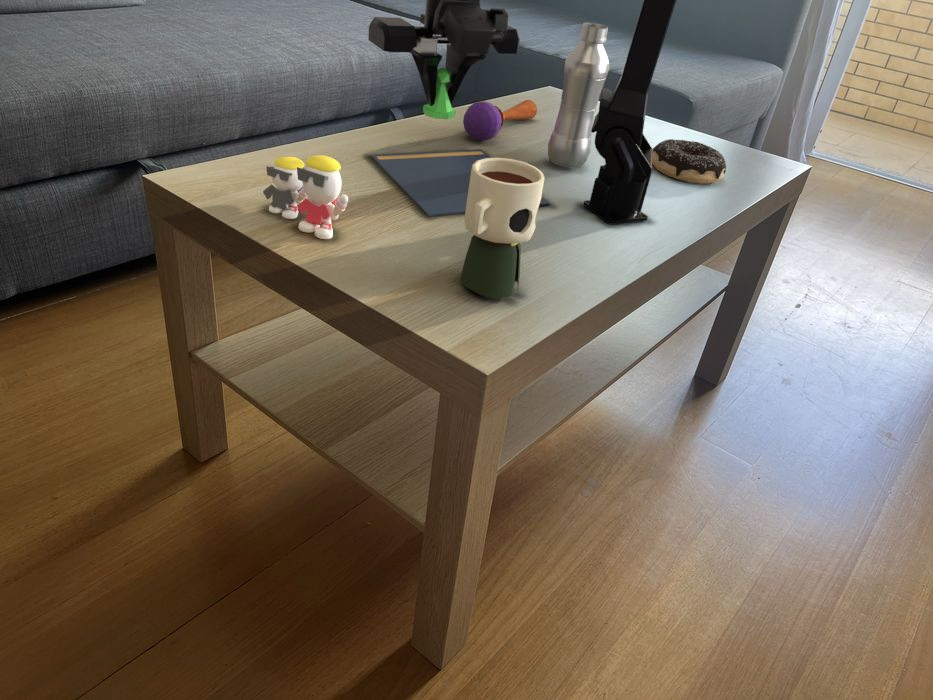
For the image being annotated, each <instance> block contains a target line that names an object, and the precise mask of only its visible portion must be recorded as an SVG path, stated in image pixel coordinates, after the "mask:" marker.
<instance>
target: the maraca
mask: <svg viewBox="0 0 933 700" xmlns="http://www.w3.org/2000/svg"><path fill="white" fill-rule="evenodd" d="M537 114H538V107H537V104H536V103H535V101H534V100H531V99H526V100H523V101H522V102H519V103H518V104H515V105H513V106H512V107H510V108H508V109H506V110H504V111H502V109H500V108H499V107H498V106H496V105H494V104H493V103H492V102H489V101H485V100H483V101H477V102H474V103H472V104H471V105H469V106H468V108H467V109H466V111H465V112H464V115H463V120H462V123H463V129H464V131H465V133H466V134H467V135H468V136H469V137H471V138H472V139H473V140H474V141H478V142H485V141H486V142H487V141H490V140H492V139H493V138H495V137H496V136H497V135H498V133H499V132H500V130H501V129H502V127H503V125H504V122H505V121H520V120H521V121H525V120H526V121H527V120H532V119H534V118H535V117H536V116H537Z"/></svg>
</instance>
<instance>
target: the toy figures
mask: <svg viewBox="0 0 933 700" xmlns="http://www.w3.org/2000/svg"><path fill="white" fill-rule="evenodd" d="M265 169H266V175H267V176H268V177H271V181H272V182H273V184H274V185H273V184H270V185H269V186H267V187H266V188H265V189H264V190H263V191H262V193H263V195H264V196H265V198H266V200H270V199H272V200H271V203H270V205H269V206H268V211H269V212H270V213H272V214H281V217H282V218H283V219H287V220H292V219H293V220H294V219H296V218H298V215H299V213H300V214H301V215H302V214H304V213H306V216H305V219H304V220H301V221H300V222H299V223H298V230H299V231H300V232H303V233H314V236H315V237H316V238H318V239H321V240H330V239H332V238H333V236H334V234H333V233H334V231H333V226H332V225H333V224H332V221H336V220H338V219H339V217H340V214H342V213H344V212H345V211H346V208H347V206H348V205H347V204H348V203H349V197H348V195H346V194H343V193H342V194H341V195H340V193H341V190H342V177H341V173H340V171H341V169H342V165H341V164H340V162H339V161H338V160H336V159H335V158H333V157H330V156H328V155H321V154H316V155H311V156H309V157H308V158H307V159H306V160H305V163H304V161H303V160H301V159H300V158H298V157H294V156H280V157H278V158H276V159H275V160H274V165H273V166H267V165H266V167H265ZM339 195H340V196H339Z"/></svg>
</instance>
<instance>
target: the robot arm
mask: <svg viewBox="0 0 933 700" xmlns="http://www.w3.org/2000/svg"><path fill="white" fill-rule="evenodd" d="M677 1H678V0H643V1H642V4H641V8H640V11H639V14H638V18H637V21H636V25H635V28H634V31H633V34H632V35H633V36H632V38H631V42H630V46H629V48H628V52H627V55H626V59H625V63H624V66H623V70H622V73H621V76H620V78H619V80H618V82H617V84H616V86H615V87H614V90H611V89H608V88H606V87H603V88H602V91H601V94H600V98H599V106H598V112H597V114H596V115H594V120H593V126H592V130H591V132H592V133H591V134H593V133H595V136H594V148H595V149H596V152H597V153H598V154H599V156H600V157H601V158H603V159H604V164H603V165H600V167H599V171H598V174H597V177H595V179H594V183H593V187H592V191H591V195H590V199H588V200H583V206H584V207H586V208H587V209H588V210H590V211H591V212H592V213H594V214H595V215H597V216H598V217H599V218H601V219H602V220H603V221H605V222H606V223H607V224H610V225H617V224H624V223H625V224H626V223H634V222H645V221H648V218H649V216H648V215H647V214H645V213H644V212H643V211H642V208H643V205H644V202H645V199H646V194H647V191H648V187H649V184H650V181H651V177H652V174H653V172H652V170H653V164H652V155H653V147H652V145H651V144H650V142H649V140H648V139H647V137H646V136H645V134H644V127H645V119H646V113H647V103H648V97H649V90H650V86H651V83H652V79H653V76H654V73H655V70H656V67H657V64H658V61H659V58H660V54H661V51H662V48H663V45H664V41H665V39H666V36H667V31H668V29H669V25H670V22H671V19H672V17H673V13H674V9H675V6H676V4H677ZM509 18H510V17H509V13H508V12H507V11H506V9H505V8H490V9H483V8H481V0H425V11H424V13H420V18H419V23H420V24H422V25H423V26H417V25H416V26H415V25H413V24H411V23H410V22H408V21H406V20H404V19H403V18H402V17H386V16H374V17H373V19H372V20H371V21H370V23H369V25H368V37H367V39H368V41H369V42H370V43H371V44H373V45H375V46H376V47H378V48H379V49H381V50H382V51H383V52H387V53H410V54H411V56H412V59H413V61H414V63H415V66H416V68H417V71H418V74H419V78H420V81H421V84H422V88H423V91H424V94H425V99H426V102H427V104H429V105H430V106H433V105H434V103H435V97H436V86H437V84H438V82H437V69H439V68H438V67H439V66H440V65H439V64H440V62H441V61H442V59H443V55H442V54H440V53H439V52H438V45H439V44H444V45H446V52H445V53H446V54H445V67H444V68H445V69H446V70H448V71H449V72H451V77H450V82H448V83H445V84H446V88H447V92H448V96H449V100H450V104H451V105H452V103H453V101H454V99H455V97H456V95H457V93H458V91H459V88H460V86H461V84H462V82H463V80H464V78H465V77H466V75H467V73H468V72H469V70H470V69H471V67H472V66H473V65H475V64H476V63H477V62H478V61H484V60H485V59H486V57H487V54H489V51H490V49H491V45H492V47H493V48H494V50H495V51H496V53H498V54H501V55H503V54H504V55H505V54H506V55H508V54H509V55H517V54H518V53H519V49H520V43H521V42H520V41H521V38H520V34H519V31H518V30H517V29H516V28H515V27H512V26H511V25H509Z"/></svg>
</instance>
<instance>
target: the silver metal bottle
mask: <svg viewBox="0 0 933 700" xmlns="http://www.w3.org/2000/svg"><path fill="white" fill-rule="evenodd" d="M608 31H609V26H606V25H604V24H601V23H596V22H583V23H582V25H581V30H580V33H579V39H580V41H579V43H577V45H576V46H575V47H574V48H573V49H572V50H571V51H570V52H569V53H568V55H567V57H566V59H565V62H564V69H563V70H564V71H563V81H562V82H563V84H562V92H561V98H560V99H561V101H560V105H559V110H558V113H557V116H556V121H555V124H554V128H553V130H552V132H551V134H550V137H549V140H548V143H547V156H548V159H549V162H551V163H553V164H555V165H557V166H559V167H565V168H570V169H573V168H575V169H576V168H580V167H582V166H583V165H584V164H586V163H587V161H588V158H589V156H590V153H591V147H592V134H593V133H592V132H591V130H592V126H593V123H594V119H595V114H596V110H597V106H598V103H599V101H600V97H601V94H602V92H603V89H604V85H605V82H606V80H607V76H608V75H609V71H610V61H609V57H608V54H607V52H606V50H605V46H604V43H606V42H607V40H608V38H607V36H608Z"/></svg>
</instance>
